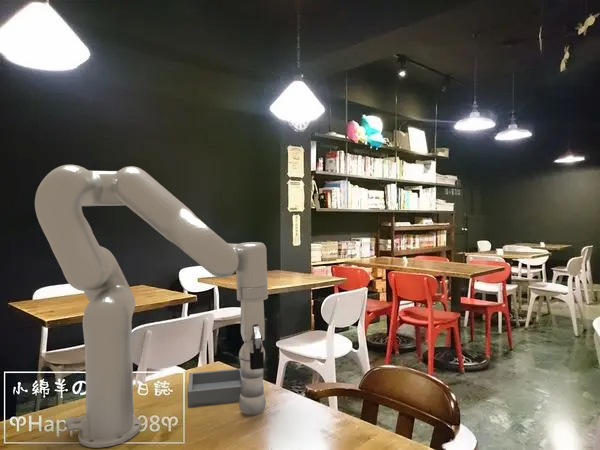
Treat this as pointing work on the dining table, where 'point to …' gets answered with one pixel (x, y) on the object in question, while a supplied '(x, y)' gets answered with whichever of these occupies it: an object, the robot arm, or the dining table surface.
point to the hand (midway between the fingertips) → (254, 361)
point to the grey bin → (214, 387)
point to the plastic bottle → (250, 384)
